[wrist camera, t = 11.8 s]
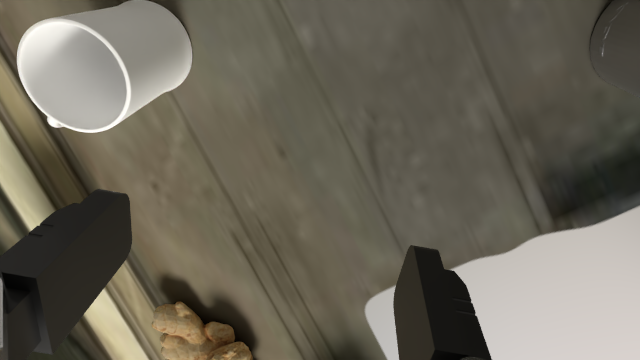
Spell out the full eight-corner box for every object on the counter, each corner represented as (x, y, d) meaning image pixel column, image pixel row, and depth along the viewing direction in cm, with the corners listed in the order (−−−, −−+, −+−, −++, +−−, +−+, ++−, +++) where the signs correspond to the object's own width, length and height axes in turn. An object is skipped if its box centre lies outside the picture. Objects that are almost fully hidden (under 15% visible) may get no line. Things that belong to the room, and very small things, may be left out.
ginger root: (252, 400, 61) (225, 450, 54) (161, 346, 63) (124, 388, 56) (288, 329, 55) (263, 376, 48) (186, 272, 56) (148, 308, 49)
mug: (131, 125, 44) (59, 178, 33) (66, 58, 41) (-36, 92, 30) (211, 58, 40) (158, 92, 29) (145, -22, 37) (60, -15, 26)
